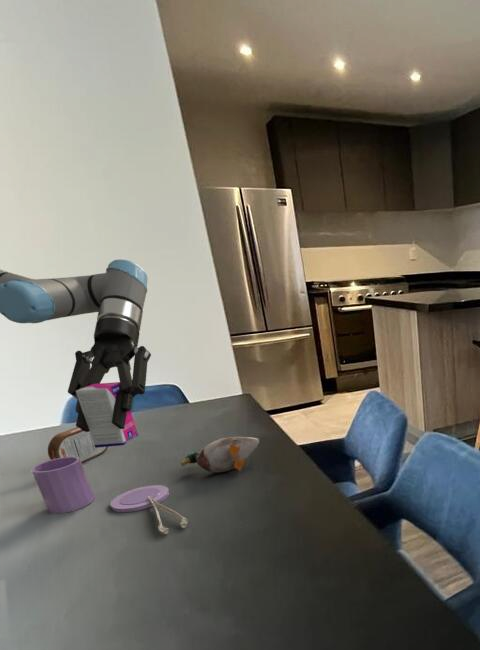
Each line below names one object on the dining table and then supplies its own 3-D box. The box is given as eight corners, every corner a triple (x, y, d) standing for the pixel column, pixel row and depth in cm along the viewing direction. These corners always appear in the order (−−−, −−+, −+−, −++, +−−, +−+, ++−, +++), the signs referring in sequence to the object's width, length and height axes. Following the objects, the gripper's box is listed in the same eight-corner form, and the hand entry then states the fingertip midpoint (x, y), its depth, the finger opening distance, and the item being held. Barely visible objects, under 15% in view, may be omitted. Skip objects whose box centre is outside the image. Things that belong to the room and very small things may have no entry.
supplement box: (125, 445, 96) (105, 388, 91) (94, 448, 95) (72, 391, 91) (140, 435, 101) (122, 380, 96) (111, 437, 101) (91, 383, 96)
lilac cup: (43, 517, 96) (25, 475, 92) (53, 501, 102) (37, 461, 99) (90, 507, 99) (75, 466, 95) (97, 492, 105) (82, 453, 102)
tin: (106, 448, 131) (95, 418, 128) (116, 448, 131) (105, 418, 127) (54, 472, 118) (40, 439, 115) (64, 472, 117) (51, 439, 114)
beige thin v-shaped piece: (190, 526, 89) (187, 516, 88) (162, 536, 86) (158, 527, 85) (162, 498, 101) (159, 489, 100) (137, 507, 98) (134, 498, 97)
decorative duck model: (168, 448, 109) (222, 425, 121) (180, 479, 112) (232, 453, 124) (212, 450, 102) (265, 425, 115) (224, 482, 105) (275, 454, 117)
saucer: (107, 517, 94) (106, 513, 94) (115, 496, 103) (113, 492, 103) (168, 503, 98) (167, 499, 98) (170, 484, 107) (169, 480, 107)
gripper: (174, 334, 106) (161, 431, 97) (83, 341, 105) (62, 439, 96) (155, 311, 99) (140, 413, 90) (58, 318, 98) (33, 422, 89)
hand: (100, 427), depth 93 cm, fingers closed on supplement box, 6 cm apart
